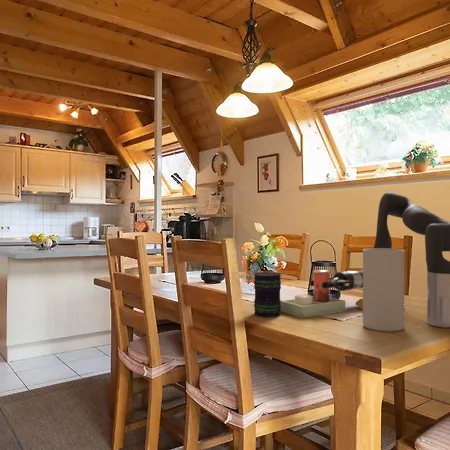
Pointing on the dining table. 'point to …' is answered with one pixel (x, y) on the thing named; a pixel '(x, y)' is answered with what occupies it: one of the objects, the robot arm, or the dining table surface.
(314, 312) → the green tray
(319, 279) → the tin
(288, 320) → the dining table surface
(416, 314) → the dining table surface
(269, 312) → the storage jar
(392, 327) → the cylinder vase
